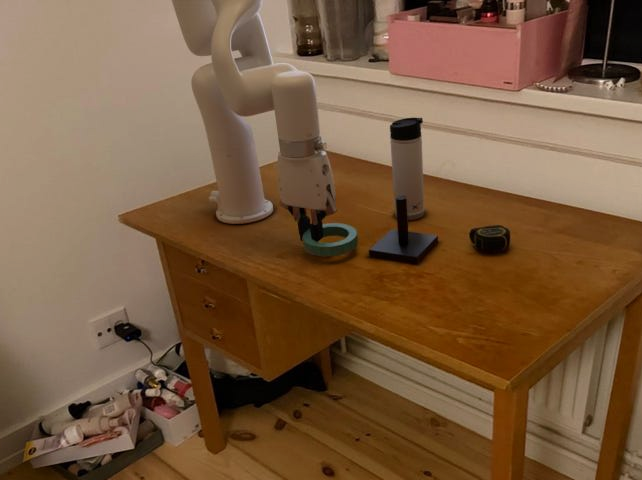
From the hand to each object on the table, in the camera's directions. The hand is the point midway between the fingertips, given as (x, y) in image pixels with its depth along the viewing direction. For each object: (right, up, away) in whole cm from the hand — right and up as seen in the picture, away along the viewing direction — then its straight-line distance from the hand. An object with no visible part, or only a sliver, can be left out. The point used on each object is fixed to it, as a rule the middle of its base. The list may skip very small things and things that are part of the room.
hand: (311, 238), depth 137 cm
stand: (+18, -2, -2) cm, 18 cm away
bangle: (+4, -1, -1) cm, 4 cm away
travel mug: (+20, +7, +13) cm, 24 cm away
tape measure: (+34, -2, -3) cm, 34 cm away
